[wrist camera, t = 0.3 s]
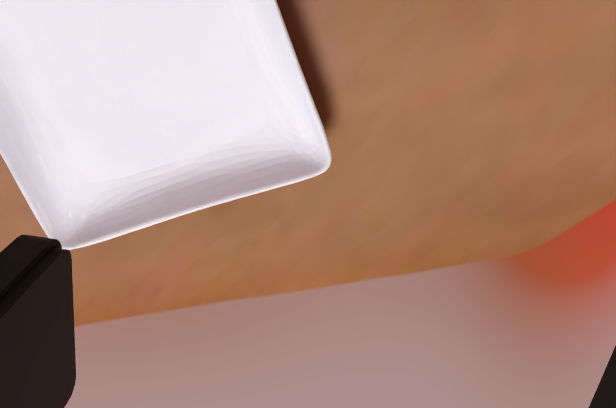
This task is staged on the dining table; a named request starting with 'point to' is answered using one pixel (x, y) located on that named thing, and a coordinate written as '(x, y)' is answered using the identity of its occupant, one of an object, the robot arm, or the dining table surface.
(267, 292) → the dining table surface
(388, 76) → the dining table surface
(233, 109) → the salad plate
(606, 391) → the robot arm
